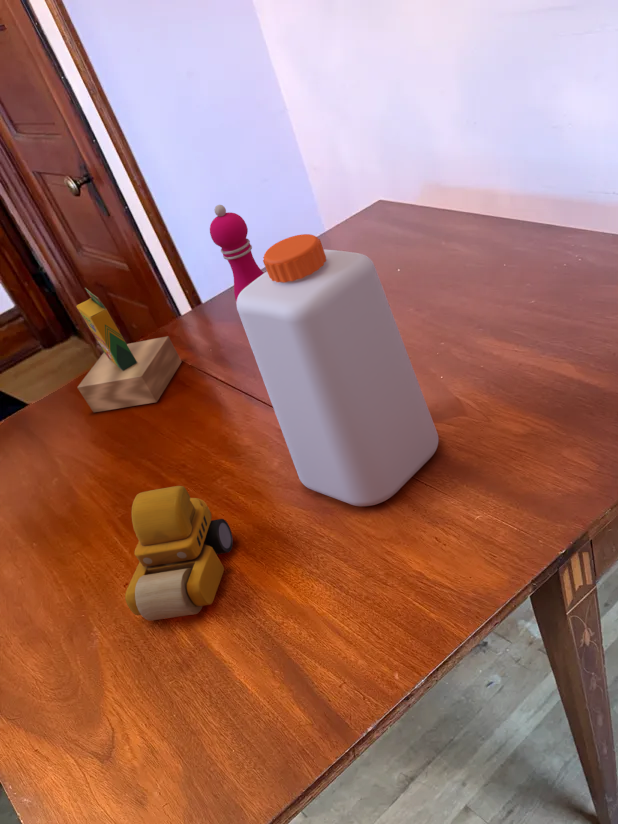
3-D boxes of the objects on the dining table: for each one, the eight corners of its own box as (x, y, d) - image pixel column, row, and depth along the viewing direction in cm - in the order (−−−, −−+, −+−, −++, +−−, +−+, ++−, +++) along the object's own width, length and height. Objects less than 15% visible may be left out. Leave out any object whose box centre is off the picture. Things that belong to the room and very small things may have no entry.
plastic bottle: (289, 486, 94) (189, 277, 75) (365, 416, 100) (291, 209, 82) (377, 519, 85) (288, 292, 66) (454, 440, 91) (394, 214, 73)
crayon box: (107, 359, 124) (68, 294, 116) (123, 350, 125) (85, 286, 117) (122, 372, 119) (82, 305, 111) (138, 362, 120) (99, 296, 112)
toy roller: (138, 632, 82) (86, 567, 75) (172, 540, 92) (130, 476, 85) (212, 621, 80) (166, 553, 73) (238, 529, 90) (200, 462, 83)
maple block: (93, 412, 122) (76, 387, 119) (122, 372, 131) (107, 347, 127) (157, 402, 119) (141, 375, 116) (182, 361, 128) (168, 335, 124)
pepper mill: (239, 325, 132) (188, 213, 119) (270, 305, 135) (224, 193, 121) (261, 333, 127) (210, 217, 114) (293, 312, 130) (247, 196, 117)
